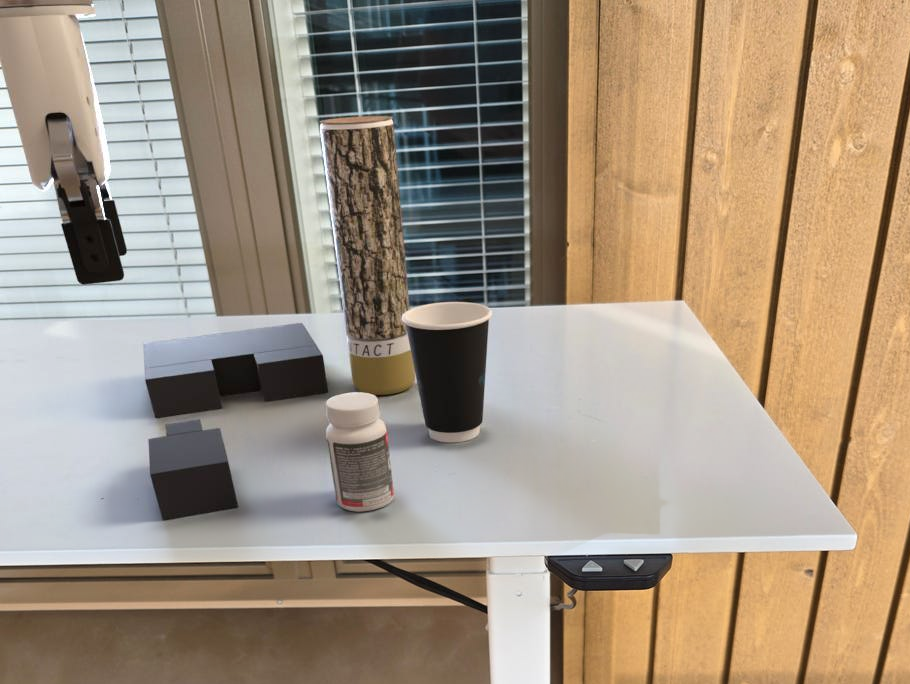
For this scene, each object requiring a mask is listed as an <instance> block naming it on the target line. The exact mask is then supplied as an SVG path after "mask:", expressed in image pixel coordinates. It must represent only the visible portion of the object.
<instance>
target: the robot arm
mask: <svg viewBox="0 0 910 684" xmlns="http://www.w3.org/2000/svg"><path fill="white" fill-rule="evenodd" d="M96 15H97V14H96V11H95V6H94V1H93V0H0V67H1V71H2V75H3V78H4V82H5V85H6V86H5V87H6V89H7V95H8V98H9V101H10V104H11V108H12V112H13V116H14V120H15V124H16V126H17V130H18V134H19V137H20V142H21V145H22V149H23V153H24V156H25V160H26V164H27V168H28V172H29V176H30V180H31V182H32V185H33V186H34V187H35V188H36V189H37V190H39V191H41V192H46V191H48V190H49V188H50V187H51V185H54V192H55V196H56V201H57V205H58V211H59V215H60V217H61V221H62V222H61V224H60V226H61V229H62V232H63V236H64V239H65V240H64V241H65V244H66V246H67V250H68V253H69V256H70V260H71V263H72V267H73V270H74V273H75V278H76V280H77V282H78V283H79V284H81V285H95V284H102V283H110V282H120V281H123V279H124V277H125V271H124V267H123V263H122V260H121V257H123V256H126V255H127V251H128V248H127V244H126V239H125V236H124V233H123V228H122V225H121V222H120V221H121V220H120V217H119V213H118V209H117V205H116V202H115V199H112V196H111V191H110V188H109V184H108V182H107V180H109V176H110V173H111V164H110V158H109V157H110V156H109V151H108V145H107V138H106V133H105V128H104V123H103V118H102V113H101V108H100V104H99V100H98V94H97V90H96V86H95V82H94V78H93V74H92V70H91V65H90V61H89V58H88V53H87V49H86V45H85V41H84V37H83V34H82V29H81V26H80V21H79V18H89V17H95V16H96Z"/></svg>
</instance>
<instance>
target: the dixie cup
mask: <svg viewBox="0 0 910 684" xmlns="http://www.w3.org/2000/svg"><path fill="white" fill-rule="evenodd" d="M492 316H493V312H492V309H491V308H490V307H488V306H487V305H483V304H480V303H475V302H467V301H446V302H445V301H444V302H434V303H428V304H422V305H418V306H416V307H412V308H410V310H408V311H406V312H405V313H404V314H403V315H402V321H403V322H404V323H405V324H406V329H407V334H408V339H409V344H410V349H411V354H412V359H413V364H414V370H415V381H416V384H417V391H418V394H419V399H420V405H421V410H422V415H423V420H424V421H423V422H424V424H425V427H426V428H427V430H428V434H429V438H431V439H432V440H434V441H437V442H441V443H448V444H449V443H461V442H462V443H463V442H466V441H471V440H473V439H475V438H476V437H478V436H479V435H480V431H481V424H483V420H484V404H485V403H484V401H485V387H486V373H487V372H486V371H487V370H486V369H487V357H488V356H487V355H488V340H489V339H488V338H489V325H490V324H489V322H490V319H491V318H492Z"/></svg>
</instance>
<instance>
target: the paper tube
mask: <svg viewBox="0 0 910 684" xmlns="http://www.w3.org/2000/svg"><path fill="white" fill-rule="evenodd" d="M393 118H394V117H393V116H389V115H365V116H362V115H361V116H348V117H338V118H329V119H323V120H319V123H320V125H319V132H320V139H321V147H322V148H321V149H322V155H323V163H324V169H325V170H324V172H325V178H326V185H327V186H326V187H327V193H328V195H327V196H328V202H329V209H330V219H331V226H332V233H333V234H332V235H333V241H334V242H333V243H334V249H335V257H336V265H337V271H338V280H339V287H340V296H341V303H342V312H343V319H344V327H345V333H346V344H347V350H348V355H349V356H348V357H349V365H350V372H351V380H352V385H353V387H354V388H355V389H356V390H357V392H362V393H369V394H372V395H374V396H387V395H388V396H389V395H394V394H398V393H401V392H404V391H407V390H409V389H410V388H412V386H413V385H415V381H416V375H415V370H414V364H413V359H412V354H411V349H410V344H409V339H408V334H407V329H406V324H405V323H404V322H403V321H402V315H403V314H404V313H405V312H406V311H408V310H410V309H411V307H410V297H409V285H408V273H407V261H406V251H405V238H404V226H403V215H402V204H401V193H400V181H399V168H398V157H397V147H396V135H395V125H394V121H393Z"/></svg>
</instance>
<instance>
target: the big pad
mask: <svg viewBox="0 0 910 684" xmlns="http://www.w3.org/2000/svg"><path fill="white" fill-rule="evenodd" d="M142 346H143V363H144V365H143V366H144V381H145V384H146V388H147V392H148V396H149V400H150V403H151V408H152V411H153V415H154V418H155V419H158V418H166V417H172V416H179V415H185V414H193V413H199V412H205V411H211V410H212V411H213V410H217V409H219V410H220V409H223V404H222V400H221V397H222V396H223V397H224V396H230V395H231V396H232V395H236V394H243V393H250V392H257V391H260V393H261V395H262V398H263V401H264V402H273V401H278V400H286V399H292V398H298V397H304V396H305V397H306V396H311V395H318V394H325V393H329V388H328V381H327V373H326V366H325V359H324V354H323V353H322V352H321V350H320V349H319V347H318V345H317V343H316V342H315V340H314V339H313V337H312V336H311V334H310V332H309V331H308V330H307V328H306V326H305V325H304V323H303V322H297V323H290V324H281V325H273V326H265V327H257V328H249V329H243V330H242V329H241V330H236V331H228V332H220V333H219V332H218V333H212V334H211V333H210V334H204V335H197V336H189V337H182V338H181V337H180V338H175V339H174V338H173V339H167V340H158V341H152V342H151V341H149V342H143V345H142Z"/></svg>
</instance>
